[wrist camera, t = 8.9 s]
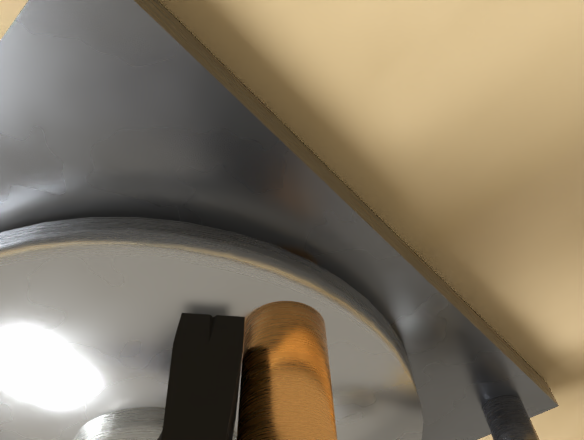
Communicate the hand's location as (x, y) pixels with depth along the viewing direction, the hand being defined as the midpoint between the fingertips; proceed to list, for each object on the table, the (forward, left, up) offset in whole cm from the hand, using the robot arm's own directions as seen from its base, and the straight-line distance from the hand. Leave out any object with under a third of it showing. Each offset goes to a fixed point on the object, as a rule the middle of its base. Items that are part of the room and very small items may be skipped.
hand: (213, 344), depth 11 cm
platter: (-3, +7, -2) cm, 8 cm away
